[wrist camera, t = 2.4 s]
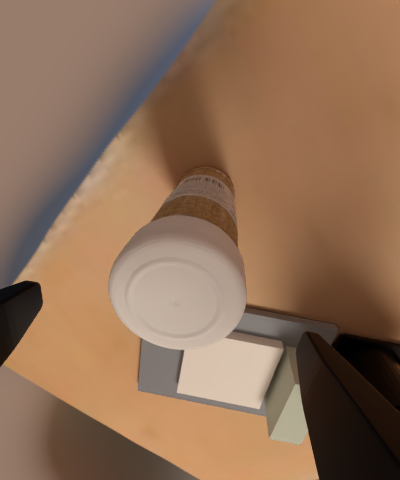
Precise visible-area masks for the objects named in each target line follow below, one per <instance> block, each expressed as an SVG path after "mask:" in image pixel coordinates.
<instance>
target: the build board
mask: <svg viewBox="0 0 400 480" xmlns="http://www.w3.org/2000/svg"><path fill="white" fill-rule="evenodd" d="M305 331H310V332H316V333H318V334H319V335H320V336H321V337H322V338H323V339H325V340H326V341H327V342H328V343H329V344H330V345H332V343H333V341H334V339H335V337H336V335H337V333H338V331H339V330H338V328H337V326H336V325H335V324H331V323H326V322H320V321H315V320H310V319H305V318H299V317H294V316H289V315H284V314H279V313H273V312H268V311H263V310H258V309H253V308H247V307H245V310H244V313H243V316H242V318H241V320H240V322H239V323H238V325H237V326H236V327H235V329H234V330H233V331H232V332H231V333H230V334H229V335H227V336H226V337H225V338H223V339H222V340H220V341H218V342H216V343H214V344H212V345H209V346H206V347H203V348H198V349H192V350H177V349H169V348H165V347H161V346H158V345H155V344H152V343H150V342H148V341H146V340H144V339H142V344H141V357H140V369H139V381H138V391H142V392H147V393H152V394H157V395H162V396H167V397H172V398H177V399H182V400H187V401H192V402H197V403H202V404H207V405H212V406H217V407H222V408H226V409H231V410H236V411H241V412H246V413H251V414H256V415H261V416H266V418H267V426H268V434H269V439H273V440H277V441H282V442H287V443H292V444H297V445H301V443H302V441H303V440H304V438H305V436H306V435H307V433H308V428H307V424H306V420H305V415H304V411H303V406H302V401H301V394H300V386H299V378H298V370H297V361H296V348H297V346H298V343H299V341H300V339H301V336H302V334H303V332H305Z"/></svg>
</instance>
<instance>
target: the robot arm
mask: <svg viewBox="0 0 400 480" xmlns="http://www.w3.org/2000/svg"><path fill="white" fill-rule="evenodd" d="M42 304H43V299H42V293H41V286H40V284H39V283H38V282H33V281H23V282H20V283H17V284H14V285H11V286H9V287H5V288H3V289H0V367H1V365H2V364H3V363H4V362H5V360H6V359H7V358H8V357H9V355H10V354H11V353H12V351H13V350H14V349H15V347H16V346H17V344H18V343H19V342H20V340H21V339H22V337H23V335H24V334H25V332H26V331H27V329H28V328H29V326H30V325H31V323H32V322H33V320H34V319H35V317H36V316H37V314H38V312H39V311H40V309H41V307H42ZM296 361H297V370H298V378H299V386H300V394H301V401H302V406H303V411H304V415H305V420H306V424H307V428H308V433H309V437H310V441H311V446H312V450H313V454H314V459H315V463H316V467H317V472H318V476H319V480H400V345H399V344H394V343H389V342H383V341H378V340H373V339H368V338H363V337H357V336H352V335H347V334H343V335H341V336H340V337H339V338H338V340H337V342H336V344H335V346H334V348H333V347H332V346H331V345H330V344H329V343H328V342H327V341H326V340H325V339H323V338H322V337H321V336H320V335H319V334H318V333H316V332H310V331H305V332H303V334H302V336H301V339H300V341H299V343H298V346H297V348H296Z"/></svg>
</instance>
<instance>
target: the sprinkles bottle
mask: <svg viewBox="0 0 400 480" xmlns="http://www.w3.org/2000/svg"><path fill="white" fill-rule="evenodd" d="M234 199H235V192H234V188H233V185H232V182H231V181H230V179H229V178H228V177H227V176H226V174H224V173H223V172H222V171H220V170H218V169H216V168H212V167H198V168H195V169H193V170H191V171H189V172H188V173H187V174H186V175H184V177H183V178H182V179H181V181H180V183H179V184H178V186H177V187H176V188H175V189H174V190H173V192H172V193H171V194H170V195H169V197H168V198H167V199H166V200H165V202H164V203H163V204H162V206H161V208H160V209H159V211H158V212H157V214H156V215H155V216H154V218H153V219H152V220H151V222H150V223H148V224H147V225H145V226H144V227H142V228H141V229H139V230H138V231H137V232H136V233H135V235H134V236H133V237H132V238H131V240H130V241H129V242H128V243H127V245H126V246H125V247H124V248H123V250H122V251H121V252H120V254H119V255H118V257H117V259H116V260H115V262H114V264H113V266H112V269H111V272H110V276H109V296H110V300H111V303H112V306H113V308H114V310H115V312H116V313H117V315H118V317H119V318H120V320H121V321H122V322H123V323H124V324H125V325H126V326H127V327H128V328H129V329H130V330H131V331H132V332H133V333H135V334H136V335H138V336H139V337H141V338H142V339H144V340H146V341H148V342H150V343H152V344H155V345H158V346H161V347H165V348H169V349H177V350H192V349H198V348H203V347H206V346H209V345H212V344H214V343H216V342H218V341H220V340H222V339H223V338H225V337H226V336H227V335H229V334H230V333H231V332H232V331H233V330H234V329H235V327H236V326H237V325H238V323H239V322H240V320H241V318H242V316H243V313H244V310H245V306H246V299H247V291H246V278H245V269H244V263H243V259H242V256H241V254H240V251H239V249H238V243H237V242H238V230H237V220H236V209H235V201H234Z"/></svg>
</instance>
